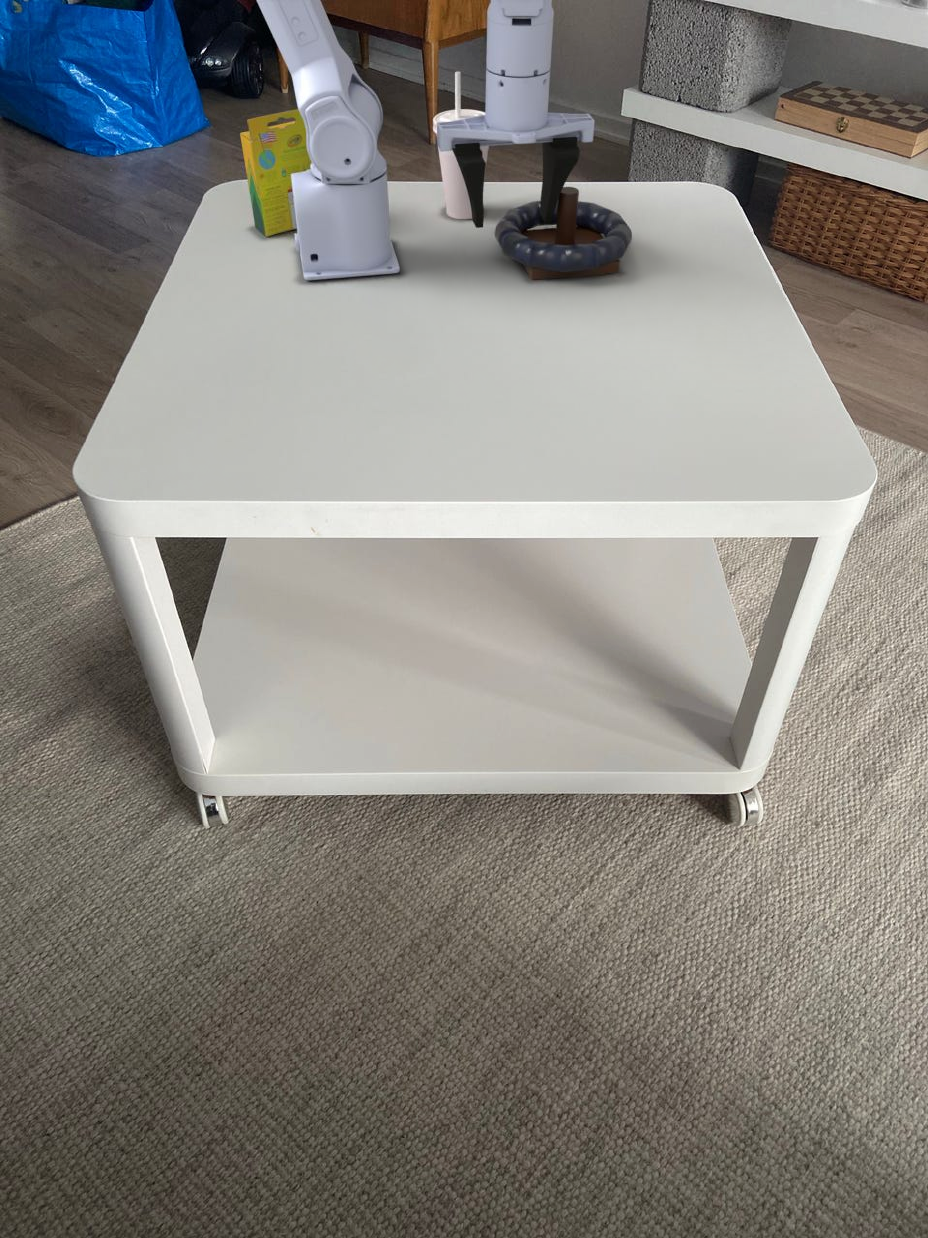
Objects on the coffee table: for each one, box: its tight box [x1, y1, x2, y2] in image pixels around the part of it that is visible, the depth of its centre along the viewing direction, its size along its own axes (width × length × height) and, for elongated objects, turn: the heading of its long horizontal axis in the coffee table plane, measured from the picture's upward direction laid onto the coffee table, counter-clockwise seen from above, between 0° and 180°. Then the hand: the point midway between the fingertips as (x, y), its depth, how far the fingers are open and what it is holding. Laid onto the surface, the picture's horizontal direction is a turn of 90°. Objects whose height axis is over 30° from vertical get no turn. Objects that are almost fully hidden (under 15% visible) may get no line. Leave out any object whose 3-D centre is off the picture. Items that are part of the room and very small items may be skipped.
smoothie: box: [432, 71, 490, 220], centre depth 103 cm, size 6×6×14 cm
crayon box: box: [239, 108, 312, 238], centre depth 101 cm, size 7×3×12 cm, turn 123°
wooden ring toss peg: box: [521, 186, 621, 281], centre depth 97 cm, size 9×9×7 cm
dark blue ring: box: [494, 200, 633, 272], centre depth 98 cm, size 13×13×2 cm
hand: (512, 221), depth 96 cm, fingers open, 6 cm apart
